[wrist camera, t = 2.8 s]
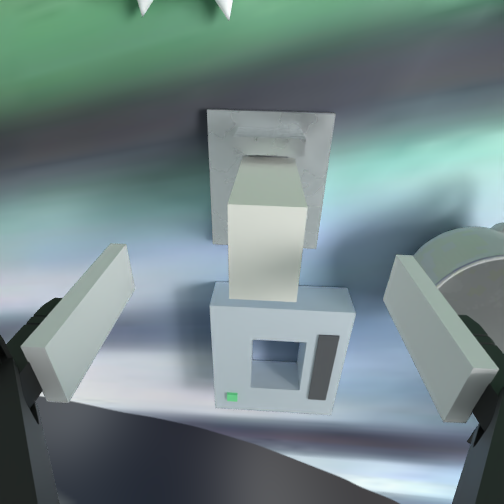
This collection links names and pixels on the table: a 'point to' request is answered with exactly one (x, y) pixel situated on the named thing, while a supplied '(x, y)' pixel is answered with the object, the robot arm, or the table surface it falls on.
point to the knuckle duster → (224, 3)
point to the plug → (266, 229)
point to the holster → (268, 144)
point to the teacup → (470, 274)
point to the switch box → (280, 329)
